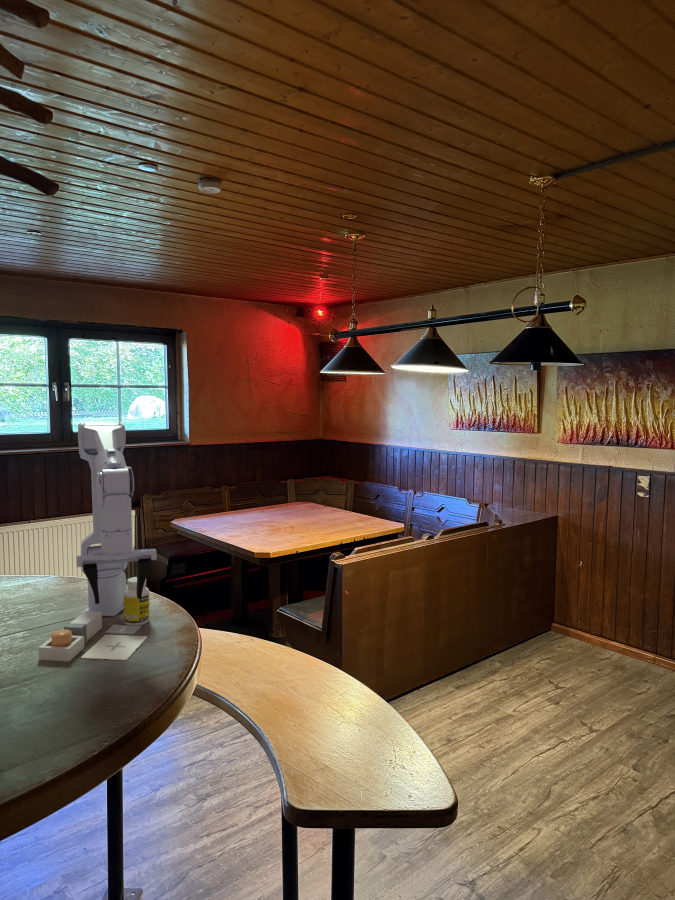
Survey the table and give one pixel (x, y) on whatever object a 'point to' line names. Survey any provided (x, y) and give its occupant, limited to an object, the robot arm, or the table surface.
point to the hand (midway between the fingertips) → (118, 600)
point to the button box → (61, 650)
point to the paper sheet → (114, 647)
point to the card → (123, 629)
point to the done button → (61, 638)
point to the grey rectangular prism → (85, 624)
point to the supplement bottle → (135, 604)
